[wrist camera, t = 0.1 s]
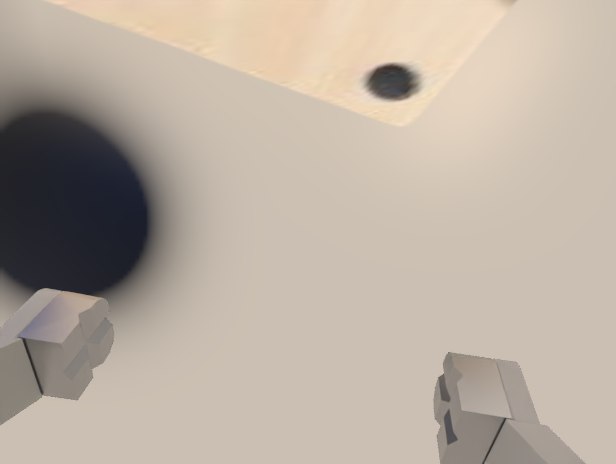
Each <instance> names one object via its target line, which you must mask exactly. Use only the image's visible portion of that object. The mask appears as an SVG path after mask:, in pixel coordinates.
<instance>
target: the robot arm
mask: <svg viewBox="0 0 616 464" xmlns="http://www.w3.org/2000/svg"><path fill="white" fill-rule="evenodd" d="M109 311H110V310H109V306H108V302H107V300H105V299H103V298H98V297H93V296H87V295H82V294H77V293H72V292H66V291H64V292H63V291H58V290H52V289H47V288H44V289H42V290H39V291H37V292H36V293H35V294H34V295H33V296H32V297H31V298H30V299H29V300H28V301H27V302H26V303H25V304H24V305H23V306H22V307H21V308H20V309H19V310H18V311H17V312H16V313H15V314H14V315H13V316H11V317H10V318H9V319H8V320H7V321H6V322H5V323H4V324H3V325H2V326H1V327H0V425H2V424H3V423H4V422H6V421H7V420H9V419H10V418H12V417H13V416H15V415H16V414H18V413H19V412H21V411H22V410H24V409H25V408H27V407H28V406H30V405H31V404H33V403H34V402H36V401H37V400H39V399H40V398H42V395H44V396H51V397H58V398H66V399H73V400H78V399H79V397H80V396H81V394H82V393H83V392H84V390H85V388H86V387H87V386H88V384H89V383H90V381H91V380H92V378H93V373H92V369H93V368H95V367H97V366H98V365H100V364H102V363H103V362H104V361H105V359H106V358H107V356H108V354H109V353H110V350H111V347H112V344H113V339H114V331H113V325H112V324H111V323H110V322H109V320H107V318H106V315H107V314H108V313H109ZM443 368H444V374H443V375H441V376H440V377H438V380H437V383H436V387H435V394H434V415H435V419H436V420H437V422H438V423H439V424H440V425H441V426H440V429H439V432H438V434H437V441H438V448H439V457H440V463H441V464H585V463H584V462H583V461H582V460H581V459H580V458H579V457H578V456H577V455H576V454H575V453H574V452H573V451H572V450H571V449H570V448H569V447H568V446H567V445H566V444H565V443H564V442H563V441H562V440H561V439H560V438H559V437H558V436H557V435H556V434H555V433H554V432H553V431H552V430H551V429H550V428H549V427H548V426H545V425H541V424H540V423H539V420H538V417H537V414H536V411H535V408H534V405H533V403H532V400H531V397H530V394H529V391H528V388H527V385H526V382H525V380H524V377H523V374H522V371H521V368H520V366H519V365H518V363H517V362H513V361H506V360H499V359H491V358H485V357H478V356H471V355H464V354H457V353H451V352H448V354H447V355H446V357H445V360H444V362H443Z"/></svg>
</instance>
